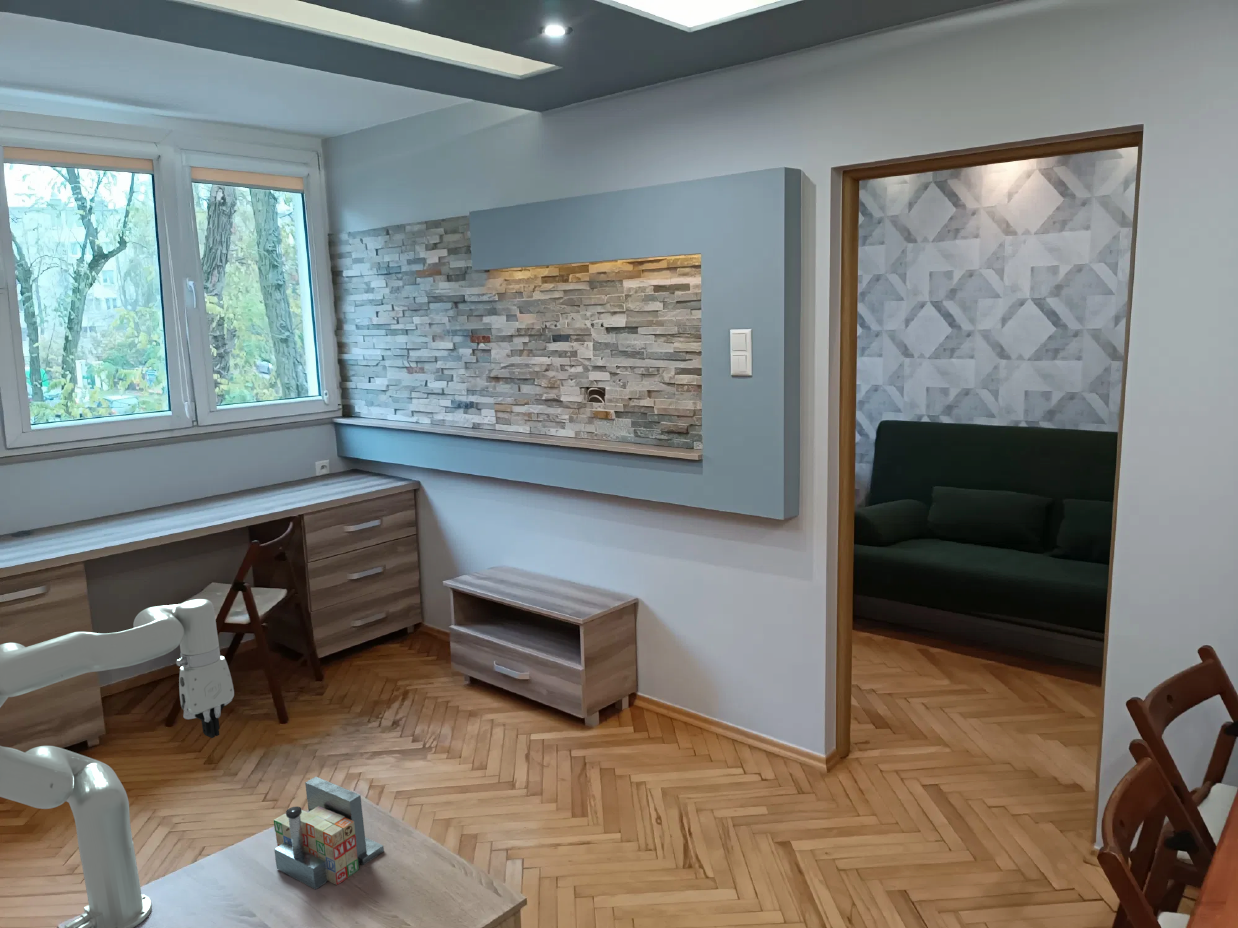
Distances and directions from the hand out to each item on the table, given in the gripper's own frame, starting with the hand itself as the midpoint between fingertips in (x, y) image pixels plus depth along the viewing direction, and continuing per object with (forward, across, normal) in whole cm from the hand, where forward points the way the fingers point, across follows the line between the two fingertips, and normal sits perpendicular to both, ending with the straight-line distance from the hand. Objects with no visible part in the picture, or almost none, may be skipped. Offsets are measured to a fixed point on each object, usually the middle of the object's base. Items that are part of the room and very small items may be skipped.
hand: (212, 734), depth 195 cm
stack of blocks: (+34, +12, -15) cm, 39 cm away
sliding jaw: (+33, +7, -16) cm, 37 cm away
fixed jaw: (+33, +19, -16) cm, 41 cm away
